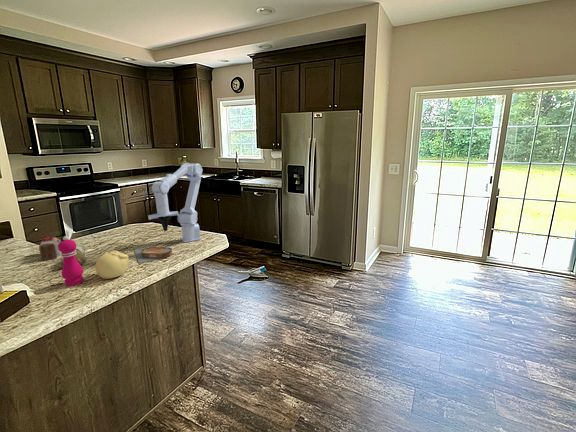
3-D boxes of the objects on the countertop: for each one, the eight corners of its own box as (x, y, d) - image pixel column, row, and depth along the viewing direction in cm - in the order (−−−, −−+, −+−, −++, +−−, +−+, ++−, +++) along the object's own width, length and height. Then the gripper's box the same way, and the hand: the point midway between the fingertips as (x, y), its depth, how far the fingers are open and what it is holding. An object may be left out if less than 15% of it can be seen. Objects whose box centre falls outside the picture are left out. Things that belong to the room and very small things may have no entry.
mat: (155, 246, 165) (155, 246, 165) (162, 258, 148) (162, 258, 148) (134, 250, 159) (134, 250, 159) (138, 263, 143) (138, 262, 143)
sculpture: (135, 271, 134) (131, 248, 132) (111, 283, 123) (107, 258, 121) (115, 268, 138) (111, 245, 135) (91, 279, 127) (86, 255, 124)
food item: (44, 253, 158) (40, 234, 155) (63, 249, 162) (59, 232, 159) (40, 261, 146) (36, 242, 144) (60, 258, 150) (56, 239, 148)
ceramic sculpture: (88, 239, 150) (82, 251, 137) (91, 255, 153) (85, 268, 140) (62, 242, 146) (53, 255, 133) (66, 259, 149) (58, 273, 136)
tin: (174, 247, 155) (166, 252, 147) (175, 253, 156) (167, 258, 147) (146, 246, 156) (137, 251, 148) (147, 252, 157) (137, 257, 149)
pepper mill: (70, 279, 128) (61, 233, 123) (88, 278, 128) (80, 233, 123) (59, 287, 121) (49, 239, 116) (78, 286, 121) (69, 238, 116)
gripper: (174, 202, 162) (177, 226, 166) (145, 205, 154) (148, 231, 157) (178, 204, 157) (181, 229, 160) (148, 208, 148) (152, 234, 152)
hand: (165, 230), depth 158 cm, fingers closed
